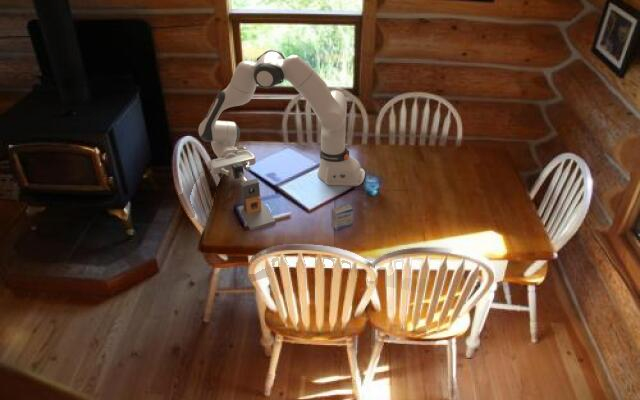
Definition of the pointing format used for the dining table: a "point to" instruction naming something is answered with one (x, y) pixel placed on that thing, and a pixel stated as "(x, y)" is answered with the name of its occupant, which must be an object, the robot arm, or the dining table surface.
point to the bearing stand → (255, 218)
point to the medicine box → (341, 216)
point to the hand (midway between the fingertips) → (238, 171)
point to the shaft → (238, 172)
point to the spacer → (253, 200)
